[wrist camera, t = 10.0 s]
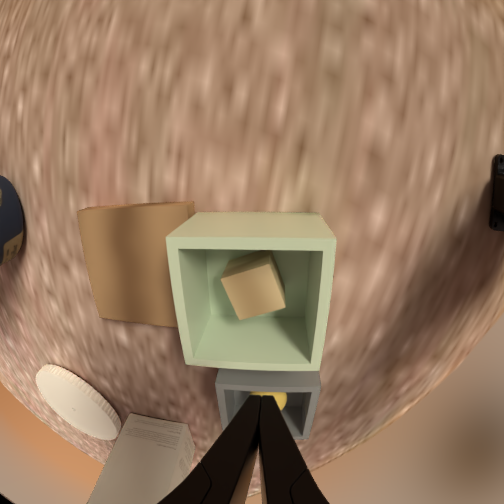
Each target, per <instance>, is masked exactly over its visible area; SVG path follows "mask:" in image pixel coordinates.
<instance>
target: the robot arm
mask: <svg viewBox="0 0 504 504" xmlns="http://www.w3.org/2000/svg"><path fill="white" fill-rule="evenodd" d="M494 223H495V224H494ZM490 228H491V229H493V230H497V231H504V155H501V154H497V155H496V157H495V175H494V190H493V200H492V209H491V217H490ZM258 446H259V465H260V480H261V494H262V504H329V502H328V501H327V500H326V498H325V497H324V495H323V494H322V492H321V491H320V489H319V488H318V486H317V484H316V482H315V481H314V479H313V477H312V475H311V473H310V471H309V469H307V465H306V463H305V461H304V459H303V457H302V455H301V453H300V451H299V449H298V447H297V445H296V443H295V440H294V438H293V436H292V434H291V432H290V430H289V428H288V426H287V423H286V421H285V419H284V417H283V415H282V413H281V410H280V408H279V406H278V404H277V402H276V400H275V397H274V396H273V395H262V397H261V395H253V394H251V395H249V396H248V397H247V399H246V400H245V402H244V403H243V404H242V406H241V407H240V409H239V410H238V411H237V413H236V414H235V416H234V417H233V418H232V420H231V421H230V423H229V424H228V425H227V427H226V428H225V429H224V431H223V432H222V433H221V435H220V436H219V437H218V439H217V440H216V441H215V443H214V444H213V445H212V447H211V448H210V449H209V450H208V452H207V453H206V454H205V456H204V457H203V458H202V459H201V461H200V462H201V463H200V462H199V463H198V464H197V465H196V467H195V468H194V469H193V470H192V471H191V473H190V474H189V475H188V476H187V477H186V478H185V479H184V480H183V481H182V482H181V483H180V484H179V485H178V486H177V487H176V488H175V489H174V490H172V491H171V492H170V493H169V494H168V495H167V496H165V497H164V498H163V499H162V500H160V501H159V502H158V503H157V504H245V500H246V497H247V493H248V489H249V485H250V482H251V478H252V474H253V469H254V465H255V461H256V457H257V452H258ZM0 504H15V503H14V502H12V501H11V500H10V499H8V498H7V497H5V496H4V495H3V494H2V493H0Z"/></svg>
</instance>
